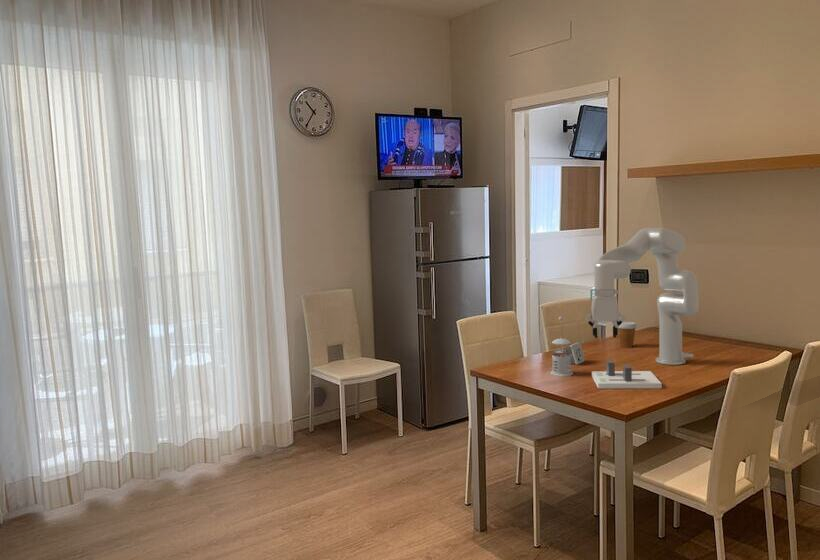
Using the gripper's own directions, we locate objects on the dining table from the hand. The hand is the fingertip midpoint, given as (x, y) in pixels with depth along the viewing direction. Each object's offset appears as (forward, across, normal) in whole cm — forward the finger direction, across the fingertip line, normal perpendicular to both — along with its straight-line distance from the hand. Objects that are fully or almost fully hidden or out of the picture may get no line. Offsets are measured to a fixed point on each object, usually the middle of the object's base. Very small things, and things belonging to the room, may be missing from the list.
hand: (605, 336), depth 255 cm
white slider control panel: (+20, -8, -4) cm, 22 cm away
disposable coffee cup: (+20, -22, -72) cm, 78 cm away
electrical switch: (+20, +8, -38) cm, 44 cm away
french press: (+20, +16, -20) cm, 32 cm away
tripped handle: (+17, -9, 0) cm, 19 cm away
